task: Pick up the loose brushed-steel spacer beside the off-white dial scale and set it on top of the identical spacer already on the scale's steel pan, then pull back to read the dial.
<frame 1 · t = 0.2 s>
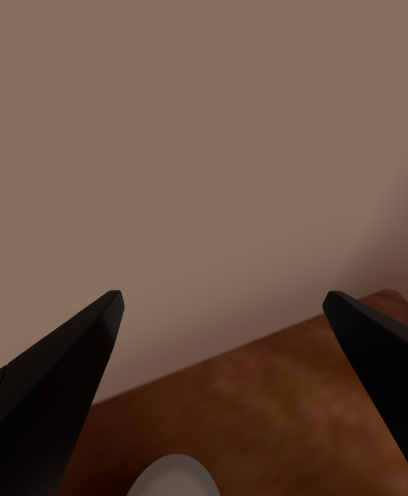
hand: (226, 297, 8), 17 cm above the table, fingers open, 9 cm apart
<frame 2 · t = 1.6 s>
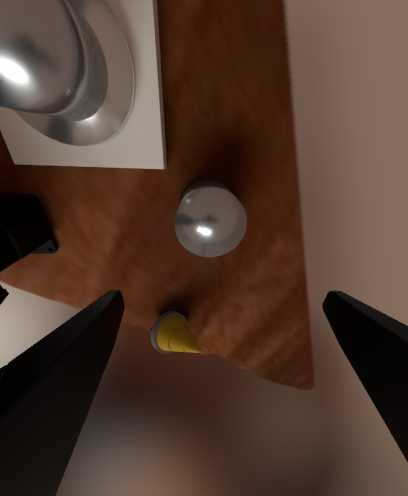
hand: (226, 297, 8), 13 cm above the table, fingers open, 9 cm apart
placed spacer: (57, 63, 11), point 3 cm above the table, touching dial scale
dial scale: (75, 42, 13), on the table
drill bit: (175, 312, 27), on the table
loose spacer: (207, 208, 19), on the table
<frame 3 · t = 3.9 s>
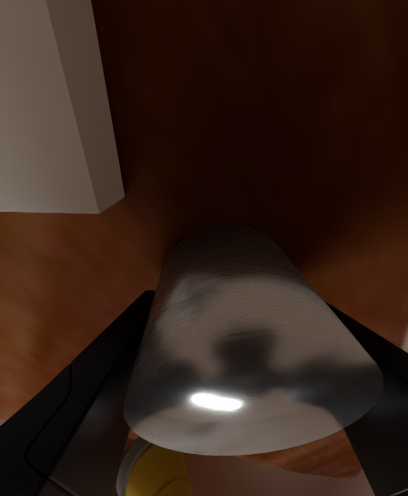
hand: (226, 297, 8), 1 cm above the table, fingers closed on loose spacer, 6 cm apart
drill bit: (164, 418, 16), on the table
loose spacer: (223, 282, 9), on the table, touching gripper
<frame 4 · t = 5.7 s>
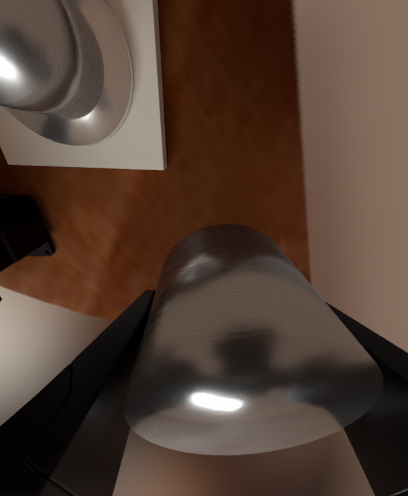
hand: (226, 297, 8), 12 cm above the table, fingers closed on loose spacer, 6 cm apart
placed spacer: (50, 57, 11), point 3 cm above the table, touching dial scale
dial scale: (70, 36, 12), on the table
loose spacer: (223, 281, 9), point 11 cm above the table, touching gripper
when the fingers open (10 cm above the table, at t = 7.8 s): loose spacer drops 1 cm, resting on placed spacer.
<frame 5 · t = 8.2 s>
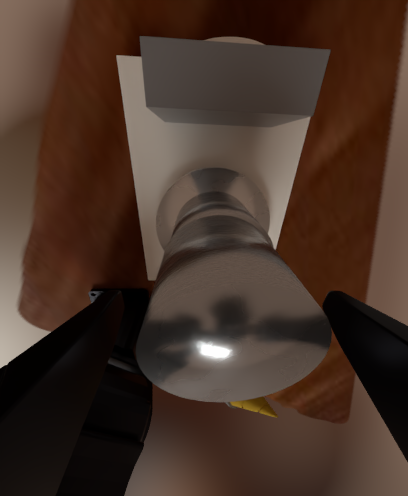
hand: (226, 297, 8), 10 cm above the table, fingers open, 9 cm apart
placed spacer: (213, 229, 14), point 3 cm above the table, touching dial scale, loose spacer
dial scale: (211, 195, 16), on the table
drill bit: (237, 366, 30), on the table
loose spacer: (217, 266, 10), point 8 cm above the table, touching placed spacer
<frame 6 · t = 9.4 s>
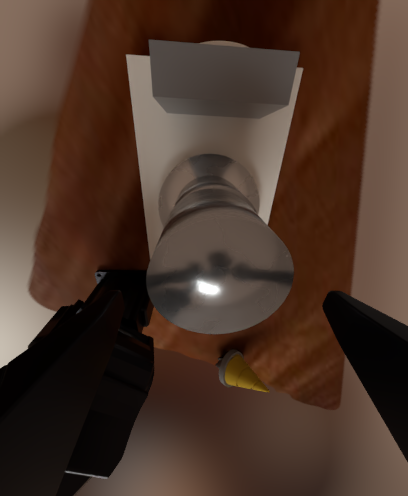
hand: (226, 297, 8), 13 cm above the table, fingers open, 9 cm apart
placed spacer: (209, 211, 16), point 3 cm above the table, touching dial scale, loose spacer
dial scale: (208, 181, 18), on the table
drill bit: (233, 350, 32), on the table
loose spacer: (211, 235, 12), point 8 cm above the table, touching placed spacer
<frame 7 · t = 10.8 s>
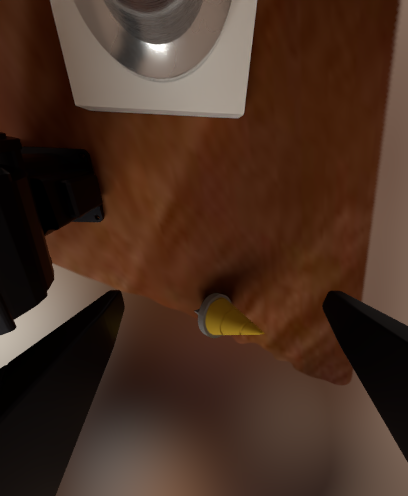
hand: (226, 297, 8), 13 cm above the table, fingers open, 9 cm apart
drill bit: (219, 295, 25), on the table
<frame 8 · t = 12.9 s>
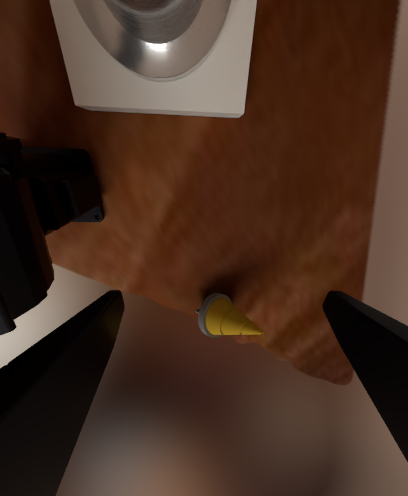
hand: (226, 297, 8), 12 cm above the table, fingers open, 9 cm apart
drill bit: (219, 295, 25), on the table
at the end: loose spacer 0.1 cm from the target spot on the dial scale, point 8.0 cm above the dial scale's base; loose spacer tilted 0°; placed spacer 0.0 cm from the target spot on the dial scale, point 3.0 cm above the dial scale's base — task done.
